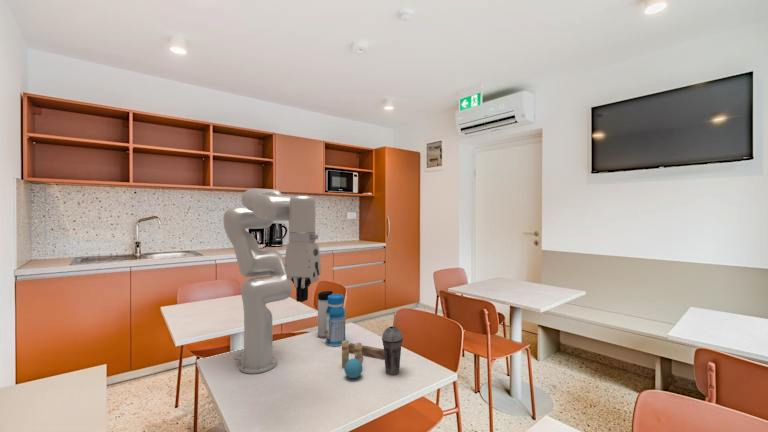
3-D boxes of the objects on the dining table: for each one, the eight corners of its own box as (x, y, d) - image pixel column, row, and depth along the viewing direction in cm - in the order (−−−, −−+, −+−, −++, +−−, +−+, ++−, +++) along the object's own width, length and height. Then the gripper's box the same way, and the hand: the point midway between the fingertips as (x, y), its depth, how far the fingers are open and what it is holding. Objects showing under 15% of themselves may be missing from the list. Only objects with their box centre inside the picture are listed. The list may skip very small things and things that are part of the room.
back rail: (387, 357, 126) (387, 349, 126) (385, 359, 125) (385, 351, 125) (350, 350, 133) (350, 343, 133) (347, 352, 131) (347, 344, 131)
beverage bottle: (336, 348, 135) (336, 299, 135) (321, 344, 140) (321, 296, 140) (349, 341, 142) (349, 295, 142) (334, 337, 147) (334, 292, 147)
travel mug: (329, 339, 145) (329, 293, 145) (315, 337, 147) (315, 292, 146) (334, 334, 151) (334, 290, 151) (321, 332, 153) (321, 289, 153)
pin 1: (340, 368, 118) (340, 342, 118) (342, 365, 120) (342, 340, 120) (347, 368, 117) (347, 343, 117) (349, 365, 120) (349, 340, 120)
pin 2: (353, 370, 116) (353, 345, 116) (355, 367, 118) (355, 342, 118) (360, 371, 115) (360, 345, 115) (362, 368, 118) (362, 342, 118)
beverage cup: (377, 372, 115) (377, 314, 115) (391, 365, 120) (391, 310, 120) (393, 379, 110) (393, 319, 110) (407, 371, 115) (407, 314, 115)
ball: (346, 371, 115) (338, 372, 110) (355, 355, 116) (346, 354, 111) (360, 381, 112) (351, 382, 107) (368, 364, 113) (360, 364, 108)
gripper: (330, 238, 98) (330, 300, 98) (290, 236, 104) (290, 295, 104) (315, 240, 91) (315, 307, 91) (273, 238, 97) (273, 301, 97)
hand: (302, 300), depth 98 cm, fingers closed
